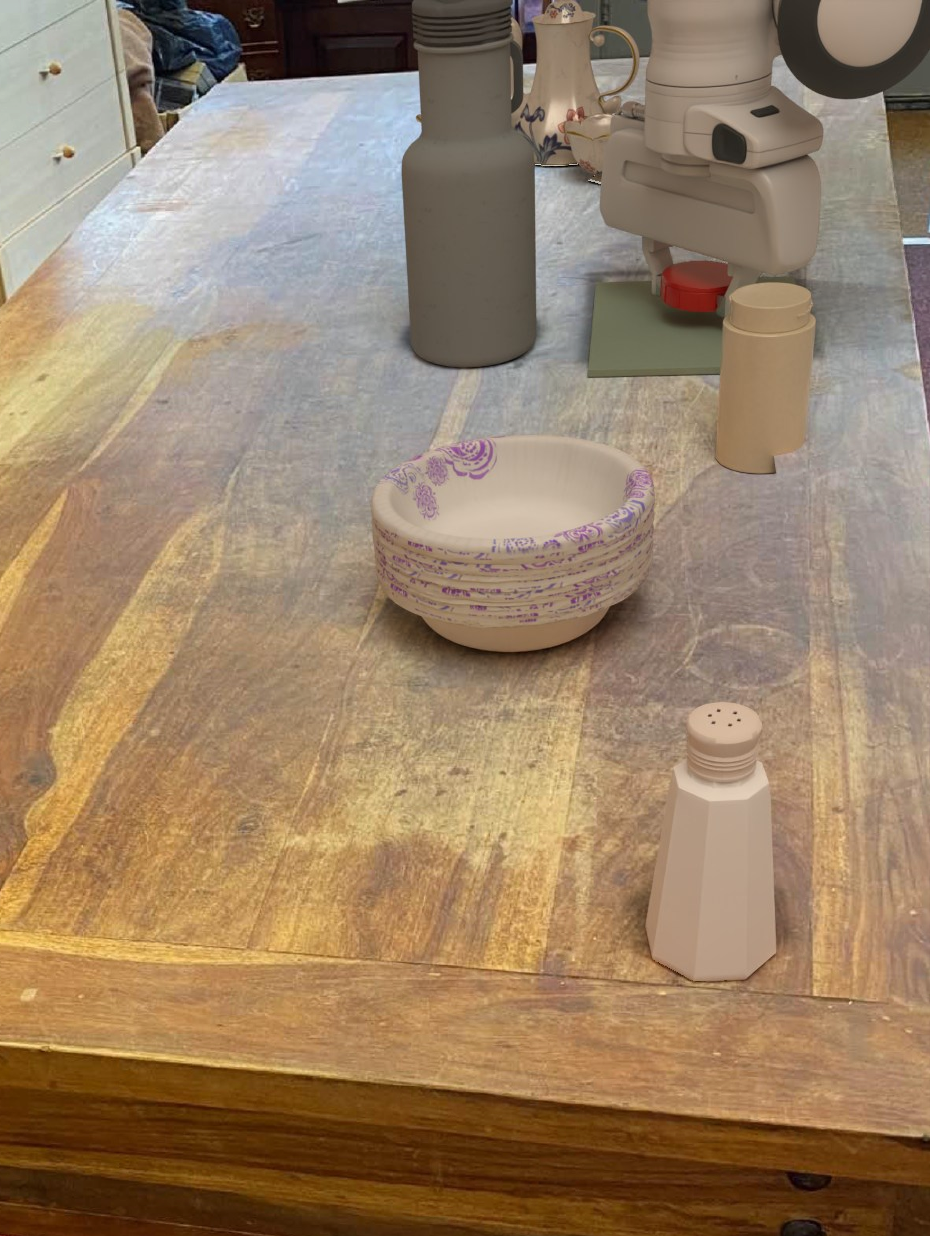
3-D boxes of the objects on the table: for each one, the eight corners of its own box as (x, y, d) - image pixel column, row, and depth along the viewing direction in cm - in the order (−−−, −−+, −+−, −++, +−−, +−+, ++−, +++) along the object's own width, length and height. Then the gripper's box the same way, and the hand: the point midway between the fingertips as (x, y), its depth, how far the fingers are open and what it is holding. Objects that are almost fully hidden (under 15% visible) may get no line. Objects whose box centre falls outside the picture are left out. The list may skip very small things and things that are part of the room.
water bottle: (433, 322, 132) (414, -62, 116) (550, 326, 129) (548, -69, 113) (395, 367, 124) (370, -38, 108) (519, 373, 121) (512, -44, 105)
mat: (793, 282, 132) (793, 275, 132) (812, 372, 117) (813, 364, 116) (595, 289, 135) (595, 282, 135) (587, 377, 119) (587, 369, 119)
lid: (696, 318, 121) (699, 294, 120) (644, 295, 126) (646, 271, 125) (757, 300, 124) (760, 276, 123) (703, 278, 128) (706, 254, 127)
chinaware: (396, 190, 172) (377, 23, 161) (468, 134, 182) (455, -26, 171) (644, 209, 158) (642, 28, 148) (707, 147, 168) (709, -26, 158)
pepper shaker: (627, 969, 66) (634, 744, 60) (661, 890, 70) (670, 671, 64) (762, 998, 64) (783, 768, 58) (789, 915, 68) (811, 691, 62)
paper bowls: (453, 536, 100) (448, 413, 95) (690, 577, 93) (696, 447, 88) (329, 651, 89) (316, 520, 85) (586, 707, 83) (587, 567, 78)
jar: (800, 438, 107) (813, 278, 101) (807, 473, 103) (822, 308, 97) (713, 440, 108) (722, 281, 102) (717, 474, 104) (726, 311, 98)
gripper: (580, 105, 123) (580, 286, 131) (774, 147, 108) (760, 349, 116) (644, 89, 126) (640, 268, 134) (842, 128, 111) (824, 327, 119)
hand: (698, 306), depth 125 cm, fingers closed on lid, 6 cm apart
